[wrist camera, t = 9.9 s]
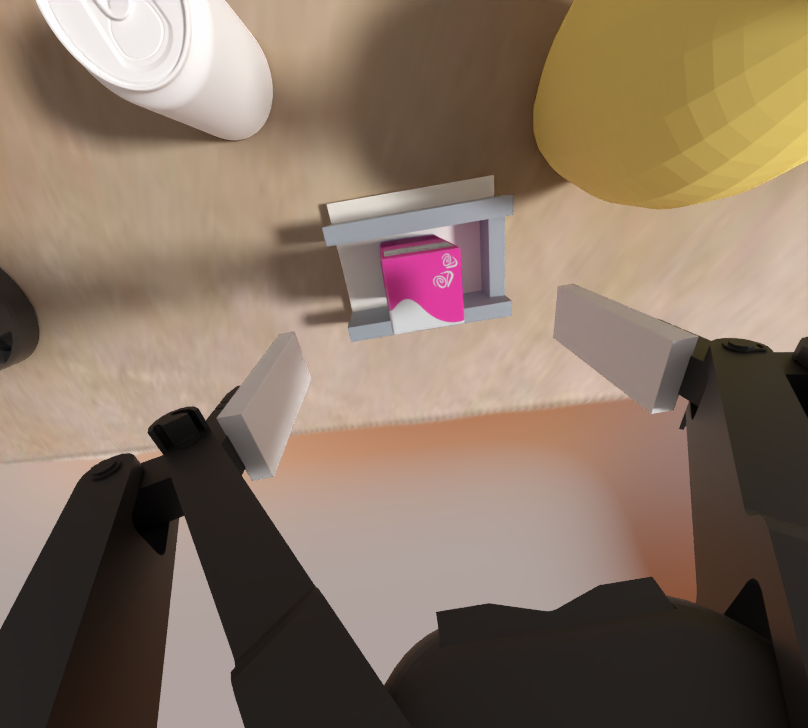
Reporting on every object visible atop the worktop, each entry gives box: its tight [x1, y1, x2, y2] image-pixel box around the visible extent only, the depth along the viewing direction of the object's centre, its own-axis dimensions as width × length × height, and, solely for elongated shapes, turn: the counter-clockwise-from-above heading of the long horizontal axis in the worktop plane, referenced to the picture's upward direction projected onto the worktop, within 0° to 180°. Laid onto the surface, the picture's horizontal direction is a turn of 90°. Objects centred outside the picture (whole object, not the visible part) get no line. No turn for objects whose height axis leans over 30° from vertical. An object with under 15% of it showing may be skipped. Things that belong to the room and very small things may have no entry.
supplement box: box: [380, 234, 464, 335], centre depth 27 cm, size 6×6×12 cm
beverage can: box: [35, 0, 273, 140], centre depth 20 cm, size 8×8×12 cm
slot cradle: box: [322, 175, 513, 342], centre depth 30 cm, size 16×14×6 cm
